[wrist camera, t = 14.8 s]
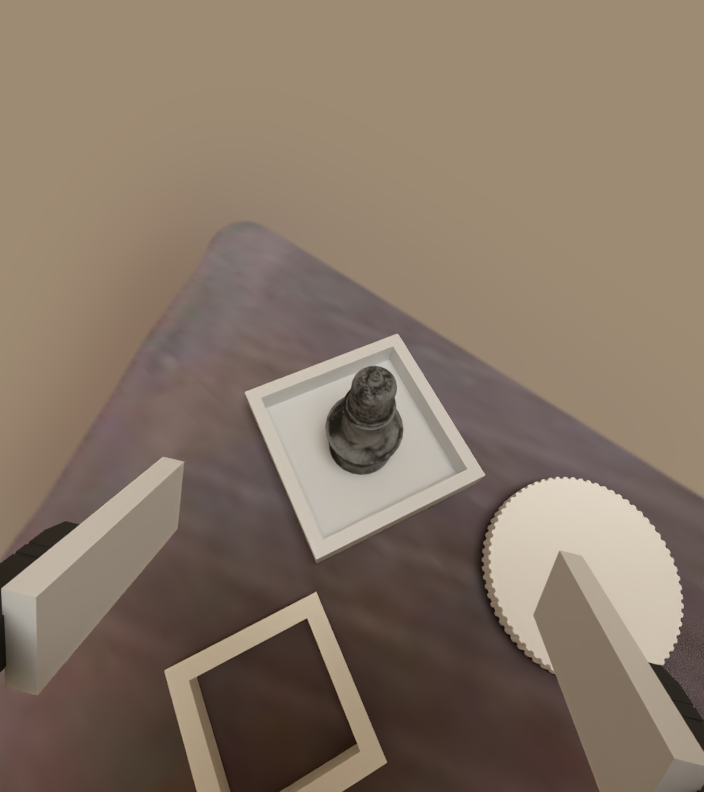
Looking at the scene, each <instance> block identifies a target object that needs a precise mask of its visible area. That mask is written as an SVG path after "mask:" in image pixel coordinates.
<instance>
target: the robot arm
mask: <svg viewBox="0 0 704 792" xmlns="http://www.w3.org/2000/svg"><path fill="white" fill-rule="evenodd" d="M183 468H184V462H183V461H179V460H174V459H170V458H166V457H162V458H161V459H160V460H159V461H157V462H156V463H155V464H154V465H152V466H151V467H150V468H149V469H147V470H146V471H145V472H144V473H143V474H141V475H140V476H139V477H138V478H136V479H135V480H134V481H133V482H131V483H130V484H129V485H128V486H127V487H125V488H124V489H123V490H122V491H120V492H119V493H118V494H117V495H116V496H114V497H113V498H112V499H111V500H109V501H108V502H107V503H106V504H104V505H103V506H102V507H101V508H100V509H98V510H97V511H96V512H95V513H93V514H92V515H91V516H90V517H88V518H87V519H86V520H85V521H84V522H82V523H81V524H80V525H79V524H75V523H71V522H67V521H65V522H63V523H60V524H58V525H56V526H53V527H51V528H48V529H46V530H44V531H43V532H42V533H40V534H39V535H38V536H36V537H35V538H34V539H32V540H31V541H30V542H29V544H28V545H27V544H26V545H24V546H23V547H22V548H20V549H19V550H18V551H16V553H15V555H14V554H12V555H11V556H10V557H8V558H7V559H6V560H4V561H3V562H2V563H0V672H1V671H2V670H3V669H4V668H5V687H7V688H10V689H14V690H18V691H22V692H26V693H30V694H33V695H38V694H39V693H40V692H41V691H42V690H43V688H44V687H45V686H46V685H47V684H48V682H49V681H50V680H51V679H52V678H53V676H54V675H55V674H56V673H57V672H58V671H59V669H60V668H61V667H62V666H63V665H64V663H65V662H66V661H67V660H68V659H69V657H70V656H71V655H72V654H73V653H74V651H75V650H76V649H77V648H78V647H79V646H80V644H81V643H82V642H83V641H84V640H85V638H86V637H87V636H88V635H89V634H90V632H91V631H92V630H93V629H94V628H95V626H96V625H97V624H98V623H99V622H100V621H101V619H102V618H103V617H104V616H105V615H106V613H107V612H108V611H109V610H110V609H111V607H112V606H113V605H114V604H115V603H116V602H117V600H118V599H119V598H120V597H121V596H122V594H123V593H124V592H125V591H126V590H127V588H128V587H129V586H130V585H131V584H132V582H133V581H134V580H135V579H136V578H137V577H138V575H139V574H140V573H141V572H142V571H143V569H144V568H145V567H146V566H147V565H148V563H149V562H150V561H151V560H152V559H153V558H154V556H155V555H156V554H157V553H158V552H159V550H160V549H161V548H162V547H163V546H164V544H165V543H166V542H167V541H168V540H169V538H170V537H171V536H172V535H173V534H174V533H175V531H176V530H177V529H178V519H179V509H180V499H181V489H182V478H183ZM533 616H534V619H535V621H536V624H537V627H538V629H539V632H540V635H541V637H542V640H543V643H544V645H545V648H546V651H547V653H548V656H549V658H550V661H551V664H552V666H553V669H554V672H555V674H556V677H557V680H558V682H559V685H560V688H561V690H562V693H563V696H564V698H565V701H566V704H567V706H568V709H569V712H570V714H571V717H572V720H573V722H574V725H575V728H576V730H577V733H578V736H579V738H580V741H581V743H582V746H583V749H584V751H585V754H586V757H587V759H588V762H589V765H590V767H591V770H592V773H593V775H594V778H595V781H596V783H597V786H598V789H599V791H600V792H704V721H703V719H702V718H701V716H700V715H699V713H698V712H697V710H696V708H693V704H692V702H691V701H690V699H689V698H688V696H687V695H686V693H685V692H684V690H683V689H682V687H681V686H680V684H679V683H678V682H677V681H676V680H675V679H674V678H673V677H672V676H671V675H670V674H669V673H668V672H667V671H666V670H665V669H664V668H663V667H662V666H661V665H658V664H653V663H649V662H648V661H647V660H646V658H645V656H644V655H643V653H642V651H641V650H640V648H639V647H638V645H637V643H636V642H635V640H634V639H633V637H632V635H631V634H630V632H629V631H628V629H627V627H626V626H625V624H624V622H623V621H622V619H621V618H620V616H619V614H618V613H617V611H616V610H615V608H614V606H613V605H612V603H611V601H610V600H609V598H608V597H607V595H606V593H605V592H604V590H603V589H602V587H601V585H600V584H599V582H598V581H597V579H596V577H595V576H594V574H593V572H592V571H591V569H590V568H589V566H588V564H587V563H586V561H585V560H584V558H583V556H581V555H577V554H573V553H569V552H564V551H560V550H559V552H558V555H557V557H556V560H555V562H554V565H553V567H552V570H551V572H550V575H549V577H548V580H547V582H546V585H545V587H544V590H543V592H542V594H541V597H540V599H539V602H538V604H537V607H536V609H535V612H534V614H533Z"/></svg>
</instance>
